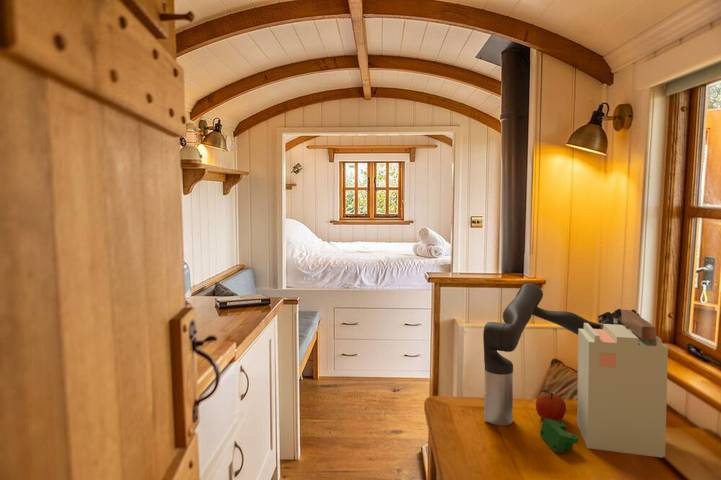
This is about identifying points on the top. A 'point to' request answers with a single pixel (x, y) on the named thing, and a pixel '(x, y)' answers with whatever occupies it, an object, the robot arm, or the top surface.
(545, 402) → the fruit
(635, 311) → the robot arm
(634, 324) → the walnut bar
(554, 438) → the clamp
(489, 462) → the top surface
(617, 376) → the rail stand
